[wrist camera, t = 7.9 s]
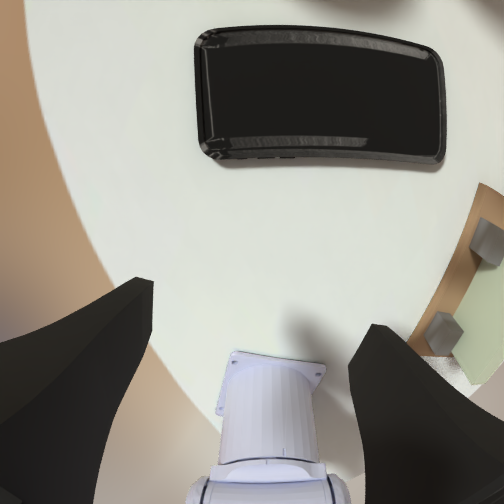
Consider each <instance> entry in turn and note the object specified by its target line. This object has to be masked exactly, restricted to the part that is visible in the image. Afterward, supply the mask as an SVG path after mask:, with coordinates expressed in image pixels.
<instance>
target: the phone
mask: <svg viewBox="0 0 504 504" xmlns="http://www.w3.org/2000/svg"><path fill="white" fill-rule="evenodd" d="M194 67H195V91H196V110H197V127H198V141H199V145H200V148H201V149H202V151H203V152H204V153H205V154H206V155H207V156H208V157H211V158H213V159H247V158H257V159H262V158H275V157H280V158H295V157H341V158H363V159H380V160H393V161H405V162H415V163H424V164H437V163H439V162H440V161H441V160H442V159H443V158H444V155H445V152H446V137H447V114H446V90H445V76H444V67H443V62H442V60H441V58H440V56H439V55H438V54H437V53H436V52H435V51H434V50H433V49H431V48H429V47H427V46H424V45H420V44H417V43H413V42H409V41H405V40H401V39H397V38H392V37H388V36H383V35H378V34H372V33H367V32H360V31H354V30H346V29H338V28H329V27H317V26H299V25H255V26H237V27H225V28H216V29H211V30H207V31H206V32H204V33H202V34H201V35H200V36H199V37H198V38H197V40H196V42H195V45H194Z"/></svg>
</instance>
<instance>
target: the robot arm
mask: <svg viewBox="0 0 504 504" xmlns="http://www.w3.org/2000/svg"><path fill="white" fill-rule="evenodd" d="M153 286H154V281H151V280H147V279H143V278H139V277H135V278H133V279H131V280H129V281H127V282H126V283H124V284H122V285H121V286H119V287H117V288H116V289H114V290H112V291H111V292H109V293H107V294H106V295H104V296H102V297H101V298H99V299H97V300H96V301H94V302H92V303H90V304H89V305H87V306H85V307H83V308H81V309H79V310H77V311H75V312H74V313H72V314H70V315H68V316H66V317H64V318H62V319H60V320H58V321H56V322H54V323H52V324H50V325H48V326H45V327H43V328H41V329H38V330H36V331H33V332H31V333H28V334H26V335H23V336H20V337H17V338H13V339H11V340H7V341H5V342H1V343H0V504H93V499H94V494H95V488H96V483H97V478H98V473H99V468H100V464H101V460H102V457H103V453H104V449H105V445H106V442H107V438H108V435H109V432H110V428H111V425H112V422H113V419H114V417H115V414H116V412H117V409H118V407H119V405H120V403H121V401H122V398H123V397H124V394H125V392H126V390H127V388H128V386H129V384H130V382H131V380H132V378H133V376H134V374H135V372H136V370H137V368H138V366H139V364H140V362H141V360H142V357H143V355H144V353H145V350H146V347H147V344H148V341H149V338H150V335H151V333H152V313H153ZM326 370H327V369H326V366H325V365H324V364H318V363H310V362H302V361H294V360H287V359H280V358H274V357H267V356H261V355H255V354H250V353H244V352H239V351H234V352H232V353H231V354H230V357H229V361H228V365H227V369H226V372H225V376H224V380H223V384H222V388H221V392H220V396H219V400H218V404H217V407H216V412H215V413H216V415H218V416H223V425H222V434H221V443H220V451H219V459H218V465H212V466H211V472H210V477H208V476H202V477H200V478H199V479H198V480H197V481H196V482H195V483H194V484H192V486H191V487H190V489H189V491H188V494H187V498H186V502H185V504H351V499H350V495H349V491H348V488H347V486H346V483H345V482H344V481H343V480H342V479H341V478H339V477H338V476H337V475H336V474H333V473H332V474H327V473H326V464H325V463H320V461H319V453H318V444H317V436H316V428H315V420H314V413H313V405H312V398H311V395H312V394H313V392H314V391H315V389H316V387H317V386H318V384H319V382H320V381H321V379H322V377H323V376H324V374H325V372H326ZM348 372H349V383H350V391H351V396H352V400H353V404H354V409H355V413H356V417H357V421H358V426H359V430H360V435H361V439H362V444H363V451H364V461H365V476H366V477H365V482H366V484H365V487H366V489H365V490H366V491H365V494H366V495H365V504H504V421H502V420H500V419H498V418H496V417H495V416H493V415H491V414H490V413H488V412H486V411H485V410H484V409H482V408H480V407H479V406H477V405H476V404H475V403H473V402H471V401H470V400H469V399H468V398H467V397H465V396H464V395H463V394H461V393H460V392H459V391H457V390H456V389H455V388H454V387H453V386H451V385H450V384H449V383H448V382H447V381H446V380H445V379H444V378H443V377H441V376H440V375H439V374H438V373H437V372H436V371H435V370H434V369H433V368H432V367H431V366H430V365H429V364H428V363H426V362H425V361H424V360H423V359H422V358H421V357H420V356H419V355H418V354H417V353H416V352H415V351H414V350H413V349H412V348H411V347H410V346H409V345H408V344H407V343H406V342H405V341H404V340H403V339H401V338H400V337H399V336H398V335H397V334H396V333H395V332H394V331H392V330H391V329H390V328H389V327H387V326H384V325H377V324H371V326H370V328H369V330H368V332H367V334H366V335H365V337H364V339H363V341H362V342H361V344H360V346H359V348H358V349H357V351H356V353H355V355H354V356H353V358H352V360H351V361H350V363H349V365H348Z"/></svg>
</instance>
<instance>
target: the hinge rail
mask: <svg viewBox="0 0 504 504" xmlns="http://www.w3.org/2000/svg"><path fill="white" fill-rule="evenodd" d="M482 258H483V259H485V260H486V261H487V262H489V263H491V264H494V265H496V266H499V267H500V264H501V262H502V260H503V258H504V196H503V195H501V194H500V193H498V192H497V191H495V190H493V189H492V188H490V187H489V186H487V185H484V184H482V183H479V186H478V189H477V192H476V195H475V198H474V202H473V205H472V207H471V210H470V213H469V216H468V219H467V222H466V224H465V227H464V230H463V232H462V235H461V237H460V240H459V242H458V245H457V247H456V249H455V252H454V254H453V256H452V259H451V261H450V263H449V265H448V267H447V269H446V272H445V274H444V276H443V278H442V280H441V282H440V284H439V286H438V288H437V290H436V292H435V294H434V296H433V298H432V300H431V301H430V303H429V305H428V307H427V309H426V311H425V312H424V314H423V316H422V318H421V320H420V321H419V323H418V325H417V326H416V328H415V330H414V331H413V333H412V335H411V336H410V338H409V340H408V341H407V344H408V345H409V346H410V347H411V348H412V349H413V350H414V351H415V352H416V353H417V354H418V355H419V356H433V357H454V355H453V354H452V352H451V351H452V350H453V348H454V347H455V345H456V344H457V342H458V341H459V339H460V338H461V336H462V334H463V333H464V331H463V330H462V328H461V327H460V326H459V324H458V323H457V322H456V320H455V319H454V318H453V315H454V314H455V312H456V310H457V308H458V306H459V305H460V303H461V301H462V299H463V297H464V295H465V294H466V292H467V290H468V288H469V286H470V284H471V282H472V280H473V278H474V276H475V274H476V272H477V269H478V267H479V265H480V263H481V261H482Z"/></svg>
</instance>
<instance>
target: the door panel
mask: <svg viewBox="0 0 504 504" xmlns="http://www.w3.org/2000/svg"><path fill="white" fill-rule="evenodd" d="M453 318H454V319H455V320H456V322H457V323H458V324H459V326H460V327H461V328H462V330H463V331H464V333H463V334H462V336H461V338H460V339H459V341H458V342H457V344H456V345H455V347H454V348H453V350H452V351H451V352H452V354H453V355H454V357H455V359H456V360H457V362H458V363H459V365H460V367H461V368H462V370H463V372H464V373H465V375H466V377H467V378H468V380H469V382H470V384H471V385H478V384H485V383H486V382H487V381H488V380H489V378H490V377H491V376H492V374H493V373H494V372H495V371H496V369H497V368H498V367H499V365H500V364H501V363H502V361H503V360H504V258H503V260H502V262H501V264H500V267H499V266H496V265H494V264H491V263H489V262H487V261H486V260H485V259H483V258H482V261H481V263H480V265H479V267H478V269H477V272H476V274H475V276H474V278H473V280H472V282H471V284H470V286H469V288H468V290H467V292H466V294H465V295H464V297H463V299H462V301H461V303H460V305H459V306H458V308H457V310H456V312H455V314H454V315H453Z"/></svg>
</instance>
